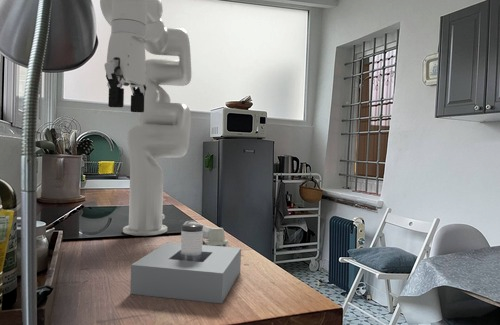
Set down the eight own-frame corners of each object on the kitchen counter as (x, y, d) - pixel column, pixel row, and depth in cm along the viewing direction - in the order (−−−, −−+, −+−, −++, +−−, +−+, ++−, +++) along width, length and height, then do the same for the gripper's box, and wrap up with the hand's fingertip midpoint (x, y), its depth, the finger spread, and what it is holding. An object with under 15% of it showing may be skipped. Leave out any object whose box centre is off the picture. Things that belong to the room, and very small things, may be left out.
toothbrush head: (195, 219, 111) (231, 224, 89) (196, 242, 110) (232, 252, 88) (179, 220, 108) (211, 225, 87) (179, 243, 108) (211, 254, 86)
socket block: (166, 265, 78) (167, 242, 78) (240, 272, 76) (241, 247, 76) (130, 293, 63) (131, 264, 62) (221, 303, 60) (222, 273, 60)
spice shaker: (185, 269, 72) (186, 223, 72) (204, 271, 71) (205, 224, 71) (176, 275, 68) (178, 226, 68) (197, 277, 67) (198, 228, 67)
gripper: (131, 44, 92) (130, 113, 92) (91, 20, 75) (89, 104, 75) (160, 44, 90) (158, 114, 91) (125, 19, 73) (123, 105, 74)
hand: (127, 109), depth 83 cm, fingers open, 9 cm apart
